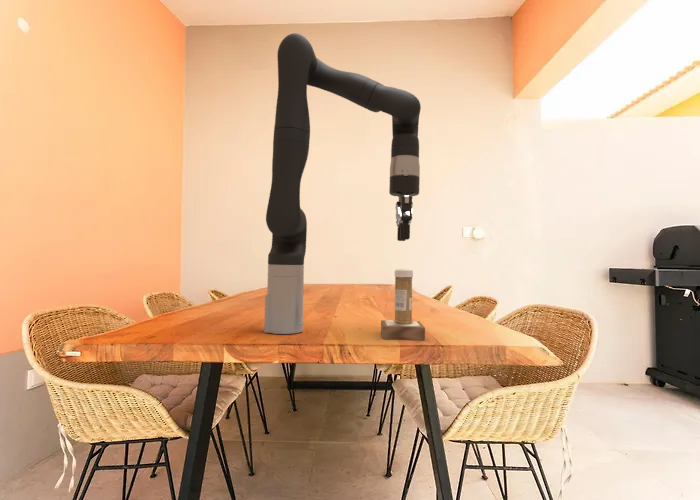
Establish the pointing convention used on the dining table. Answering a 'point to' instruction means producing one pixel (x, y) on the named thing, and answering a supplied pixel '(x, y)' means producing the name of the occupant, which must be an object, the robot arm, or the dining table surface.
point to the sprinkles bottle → (403, 296)
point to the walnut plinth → (402, 330)
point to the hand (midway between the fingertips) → (403, 240)
